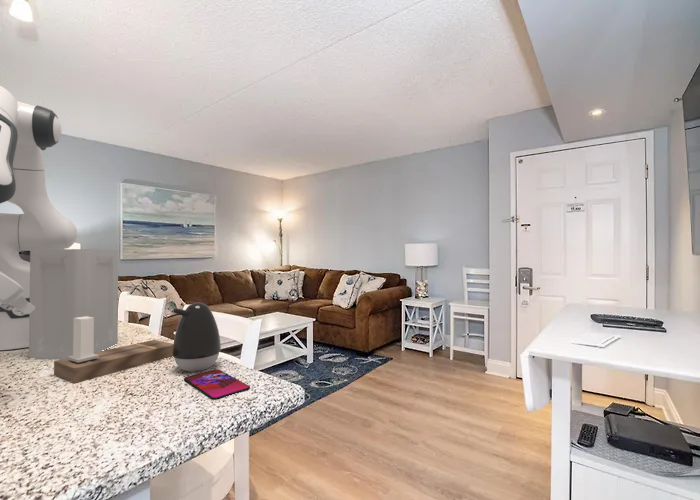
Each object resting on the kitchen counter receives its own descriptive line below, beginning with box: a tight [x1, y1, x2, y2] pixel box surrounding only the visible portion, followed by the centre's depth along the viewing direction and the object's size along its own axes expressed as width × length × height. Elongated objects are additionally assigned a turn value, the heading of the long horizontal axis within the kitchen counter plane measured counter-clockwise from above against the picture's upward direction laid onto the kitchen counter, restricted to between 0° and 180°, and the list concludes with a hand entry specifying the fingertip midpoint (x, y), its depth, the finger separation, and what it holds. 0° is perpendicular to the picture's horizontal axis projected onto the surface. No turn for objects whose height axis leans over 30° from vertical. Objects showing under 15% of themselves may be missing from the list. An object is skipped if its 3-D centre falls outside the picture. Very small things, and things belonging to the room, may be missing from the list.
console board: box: [53, 339, 174, 384], centre depth 81 cm, size 22×10×3 cm, turn 150°
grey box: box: [28, 248, 119, 360], centre depth 92 cm, size 19×15×28 cm
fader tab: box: [67, 316, 99, 363], centre depth 75 cm, size 4×5×9 cm
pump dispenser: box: [172, 302, 222, 373], centre depth 78 cm, size 10×10×15 cm
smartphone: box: [183, 368, 251, 401], centre depth 68 cm, size 8×1×15 cm
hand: (21, 309), depth 66 cm, fingers open, 8 cm apart
